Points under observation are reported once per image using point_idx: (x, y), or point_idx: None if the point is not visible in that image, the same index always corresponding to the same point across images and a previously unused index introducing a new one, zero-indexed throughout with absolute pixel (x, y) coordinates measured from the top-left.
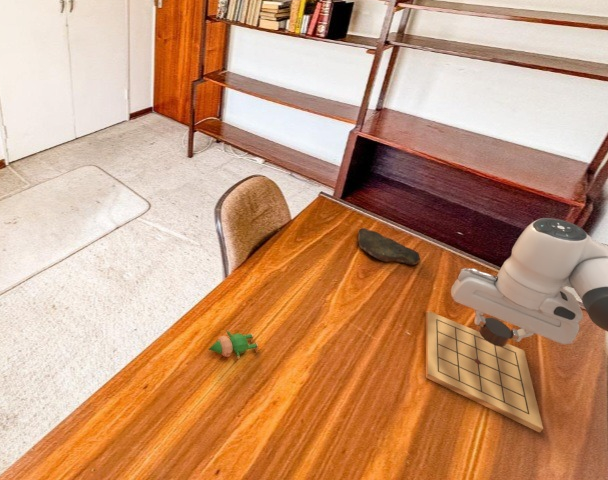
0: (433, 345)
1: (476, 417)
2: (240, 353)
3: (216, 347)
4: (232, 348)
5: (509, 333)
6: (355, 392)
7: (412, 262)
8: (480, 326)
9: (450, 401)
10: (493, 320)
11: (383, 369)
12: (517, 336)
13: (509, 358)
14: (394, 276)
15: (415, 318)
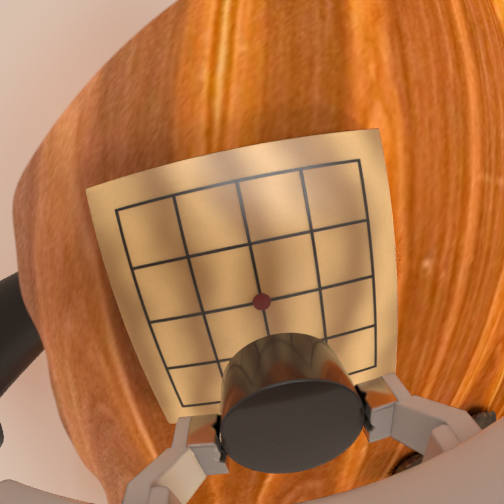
0: (382, 258)
1: (232, 97)
2: None
3: None
4: None
5: (233, 437)
6: (448, 9)
7: (412, 464)
8: (365, 381)
9: (300, 97)
10: (315, 457)
11: (444, 90)
12: (194, 442)
13: (189, 379)
14: None
15: (411, 332)
